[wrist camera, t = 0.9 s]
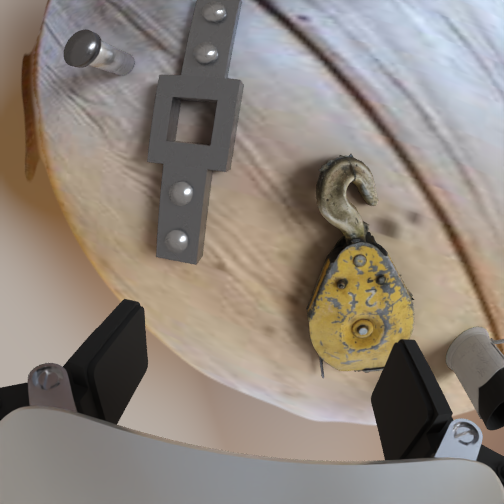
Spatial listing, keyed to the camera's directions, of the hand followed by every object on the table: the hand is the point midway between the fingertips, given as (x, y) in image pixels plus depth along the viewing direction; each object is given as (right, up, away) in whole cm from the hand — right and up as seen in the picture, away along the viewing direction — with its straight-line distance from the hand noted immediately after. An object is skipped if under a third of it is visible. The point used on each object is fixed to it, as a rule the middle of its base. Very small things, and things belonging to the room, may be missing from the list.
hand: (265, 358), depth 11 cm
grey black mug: (+36, -10, +29) cm, 48 cm away
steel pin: (-16, +27, +21) cm, 38 cm away
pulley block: (+13, +1, +28) cm, 31 cm away
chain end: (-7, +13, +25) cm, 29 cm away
